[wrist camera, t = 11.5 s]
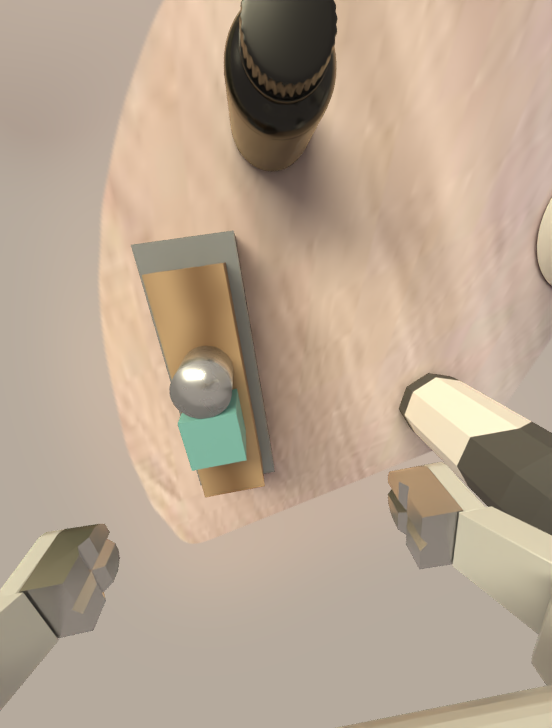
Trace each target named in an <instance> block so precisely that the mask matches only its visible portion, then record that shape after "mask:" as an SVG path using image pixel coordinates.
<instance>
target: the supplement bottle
mask: <svg viewBox="0 0 552 728" xmlns="http://www.w3.org/2000/svg"><path fill="white" fill-rule="evenodd" d="M335 10H336V4H335V2H334V0H242V2H241V10H240V11H239V13H238V14H237V16H236V17H235V19H234V21H233V23H232V25H231V27H230V30H229V33H228V36H227V40H226V45H225V51H224V76H225V84H226V93H227V101H228V109H229V117H230V125H231V131H232V135H233V139H234V141H235V144H236V146H237V148H238V150H239V151H240V153H241V154H242V156H243V157H244V158H245V159H246V160H247V161H248V162H249V163H250V164H252V165H253V166H255V167H257V168H259V169H262V170H265V171H279V170H282V169H285V168H287V167H289V166H290V165H292V164H293V163H294V162H295V161H296V160H297V159H298V158H299V157H300V156H301V154H302V153H303V151H304V150H305V148H306V146H307V145H308V143H309V141H310V139H311V137H312V135H313V133H314V131H315V130H316V128H317V126H318V124H319V122H320V120H321V118H322V116H323V115H324V113H325V111H326V109H327V107H328V104H329V102H330V99H331V97H332V93H333V90H334V85H335V79H336V53H335V47H334V46H335V37H336V34H337V27H336V23H337V15H336V12H335Z"/></svg>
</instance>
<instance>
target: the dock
mask: <svg viewBox="0 0 552 728" xmlns="http://www.w3.org/2000/svg"><path fill="white" fill-rule="evenodd" d="M131 247H132V251H133V254H134V258H135V261H136V264H137V268H138V271H139V275H140V278H141V282H142V285H143V288H144V292H145V295H146V299H147V302H148V306H149V309H150V313H151V316H152V319H153V323H154V326H155V330H156V333H157V337H158V340H159V343H160V347H161V350H162V354H163V357H164V361H165V364H166V367H167V371H168V374H169V378H170V381H172V379H171V376H170V372H169V369H168V365H167V362H166V358H165V355H164V351H163V348H162V344H161V341H160V338H159V334H158V331H157V327H156V324H155V320H154V317H153V313H152V310H151V306H150V303H149V299H148V296H147V292H146V289H145V285H144V282H143V278H142V275H144V274H150V273H155V272H162V271H169V270H178V269H183V268H190V267H199V266H205V265H211V264H218V263H225V262H226V267H227V273H228V278H229V284H230V289H231V294H232V300H233V305H234V311H235V316H236V322H237V327H238V332H239V338H240V343H241V349H242V354H243V360H244V365H245V370H246V376H247V381H248V387H249V392H250V398H251V403H252V408H253V414H254V419H255V425H256V430H257V436H258V441H259V446H260V452H261V457H262V464H263V474H265V473H270V472H275V470H274V464H273V458H272V451H271V445H270V439H269V433H268V427H267V421H266V415H265V409H264V404H263V398H262V392H261V386H260V380H259V374H258V368H257V362H256V357H255V351H254V345H253V339H252V333H251V327H250V321H249V315H248V310H247V304H246V298H245V292H244V286H243V280H242V274H241V269H240V263H239V257H238V251H237V245H236V239H235V234H234V231H227V232H220V233H213V234H205V235H198V236H191V237H184V238H177V239H170V240H162V241H155V242H148V243H141V244H134V245H131ZM179 412H180V411H179ZM180 416H181V412H180ZM196 471H197V474H198V470H196ZM198 477H199V474H198ZM199 481H200V477H199ZM200 484H201V481H200ZM201 485H202V484H201Z"/></svg>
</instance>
